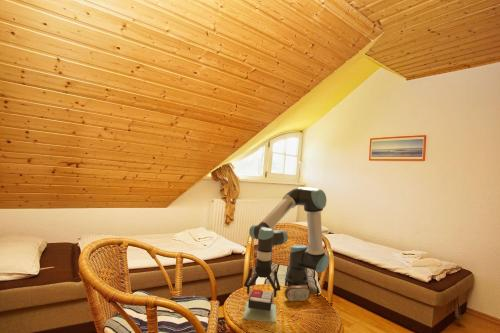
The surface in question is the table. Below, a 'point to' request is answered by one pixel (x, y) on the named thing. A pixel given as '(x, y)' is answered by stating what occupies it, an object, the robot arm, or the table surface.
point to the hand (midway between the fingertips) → (260, 301)
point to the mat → (260, 314)
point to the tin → (297, 293)
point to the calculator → (260, 300)
